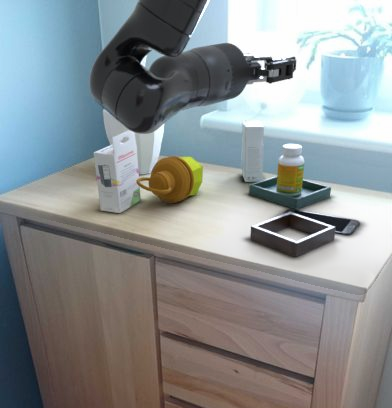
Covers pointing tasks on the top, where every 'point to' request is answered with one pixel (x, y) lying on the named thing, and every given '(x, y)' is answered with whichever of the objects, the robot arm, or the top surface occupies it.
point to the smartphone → (331, 221)
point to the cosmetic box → (252, 151)
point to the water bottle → (174, 178)
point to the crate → (294, 248)
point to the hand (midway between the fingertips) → (270, 62)
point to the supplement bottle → (290, 170)
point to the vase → (137, 140)
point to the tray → (308, 196)
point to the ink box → (118, 174)
